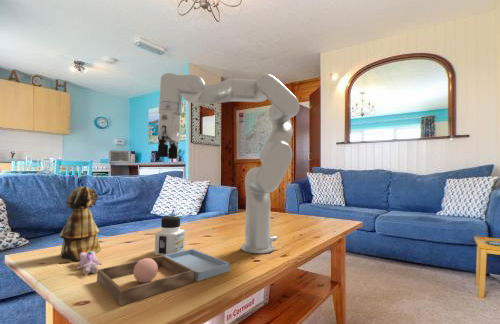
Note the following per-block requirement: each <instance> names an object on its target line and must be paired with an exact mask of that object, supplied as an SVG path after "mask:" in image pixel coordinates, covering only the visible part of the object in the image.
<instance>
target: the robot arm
mask: <svg viewBox="0 0 500 324" xmlns="http://www.w3.org/2000/svg"><path fill="white" fill-rule="evenodd" d="M183 99H184V100H185V101H186V102H188V103H192V104H205V105H206V104H207V105H209V104H218V103H219V104H220V103H221V104H222V103H229V102H241V103H242V102H243V103H245V102H246V103H262V102H265V101H267V100H268V101H269V102H270V103H271V104H270V106H269V109H268V117H269V119H270V121H271V125H272V129H271V132H270V134H269V136H268V138H267V139H266V142H265V143H264V145H263V147H262V149H261V151H260V153H259V160H260V163H261V165H260V166H254V167H252V168H250V169H249V170H248V171H247V172H246V174H245V177H244V188H245V239H244V242H245V243H242V244H241V246H240V249H241V250H242V251H243V252H245V253H248V254H249V253H250V254H267V253H272V252H273V251H274V250H275V246H274V245H273V244H272V243H273V242H275V241H277V240H278V237H277V235H274V236H271V207H272V206H271V194H270V193H272V192H274V191H276V190H277V188H278V187H279V186H280V184H281V182H282V181H283V179H284V177H285V175H286V173H287V171H288V169H289V167H290V165H291V163H292V161H293V149H292V147H291V146H290V143H291V140H292V137H293V134H294V133H293V132H294V131H293V125H292V121H291V119H292V118H294V117H296V115H297V114H298V113H299V111H300V108H301V107H300V102H299V100H298V98H297V97H296V95H294V94H293V92H291V91H290V90H289V88H287V86H285V85H284V84H283V83H282V82H281V81H280V80H279V79H278V78H276V77H275V76H274V75H272V74H270V73H263V74H261V75H259V76H258V77H257V78H256V79H251V78H250V79H249V78H233V77H231V78H228V79H225V80H222V81H220V82H217V83H215V84H205V81H204V79H203V78H202V77H201V76H199V75H195V74H176V73H173V72H172V73H171V72H166V73H163V74H162V75H161V76H160V83H159V101H158V102H159V104H158V113H159V120H158V129H157V135H158V136H157V139H158V141H157V145H158V146H157V157H158V158H167V159H169V160H177V159H178V151H179V150H178V148H179V145H178V144H179V143H180V142H181V115H182V101H183Z"/></svg>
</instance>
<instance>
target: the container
mask: <svg viewBox="0 0 500 324" xmlns="http://www.w3.org/2000/svg"><path fill="white" fill-rule="evenodd" d="M160 225H161V226H160V227H161V228H160V229H161V230H160V231H157V232H155V237H154V238H155V240H154V241H155V242H154V255H155V256H162V255H167V254H171V253H176V252H180V251H185V241H186V240H185V237H186V236H185V235H186V234H185V233H186V230H185V229H181V217H180V216H178V215H165V216H163V217H162V218H161V224H160Z"/></svg>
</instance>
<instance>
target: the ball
mask: <svg viewBox="0 0 500 324" xmlns="http://www.w3.org/2000/svg"><path fill="white" fill-rule="evenodd" d="M150 258H151V257H145V258H142V259H139V260H138V261H139V262H138V263H137V264H136V265H135V267H134V271H133V273H132V274H133V277H134V278H135V280H136V281H137V282H139V283H141V284H145V283H148V282H152V281H153V280H154V279H155V277H157V273H158V269H159V267H158V266H157V264H156V262H155V261H154V260H153V259H150Z"/></svg>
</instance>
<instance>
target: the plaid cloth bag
mask: <svg viewBox="0 0 500 324" xmlns="http://www.w3.org/2000/svg"><path fill="white" fill-rule="evenodd" d="M98 198H99V194H98V193H97V191H96V189H93V188H90V187H87V185H85V186H79V185H78V186H76V188H75V189H72V191H71V193H69V195H68V196H67V198H66V201H65V204H66V208H67V209H72V212H70V216H69V217H68V218H67V221H66V223H65V225H64V227H63V229H62V230H61V231H60V235H59V236H58V237H59V238H61V239H63V241H62V245H61V252H60V254H59V257H60V258H63V259H67V260H72V261H75V262H76V261H80V260H81V258H80V253H82V252H85V253H87V254H88V252H90V251H94V252H95V253H98V252H100V251H101V249H102V248H101V244H100V240H99V237H98V236H99V233H100V229H99V228H98V225H97V224H96V222H95V220H94V217H93V214H92V212H91V209H92V208H93V206H96V204H97V201H98Z"/></svg>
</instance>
